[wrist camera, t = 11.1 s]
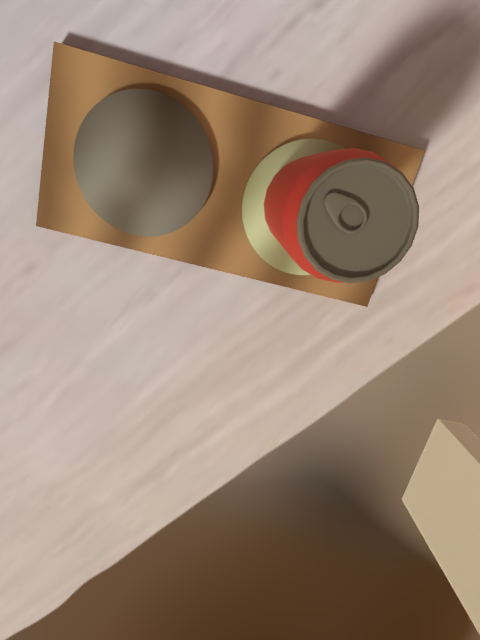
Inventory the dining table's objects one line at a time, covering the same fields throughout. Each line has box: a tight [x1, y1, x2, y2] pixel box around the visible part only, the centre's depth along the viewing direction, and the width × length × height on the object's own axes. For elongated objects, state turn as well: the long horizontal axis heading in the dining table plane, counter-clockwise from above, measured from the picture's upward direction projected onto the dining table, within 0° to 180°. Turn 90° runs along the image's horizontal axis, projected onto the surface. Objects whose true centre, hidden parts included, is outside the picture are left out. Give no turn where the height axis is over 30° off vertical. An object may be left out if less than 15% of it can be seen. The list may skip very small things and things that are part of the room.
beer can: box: [264, 148, 419, 283], centre depth 24 cm, size 7×7×12 cm
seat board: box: [36, 42, 425, 307], centre depth 30 cm, size 26×12×2 cm, turn 76°
